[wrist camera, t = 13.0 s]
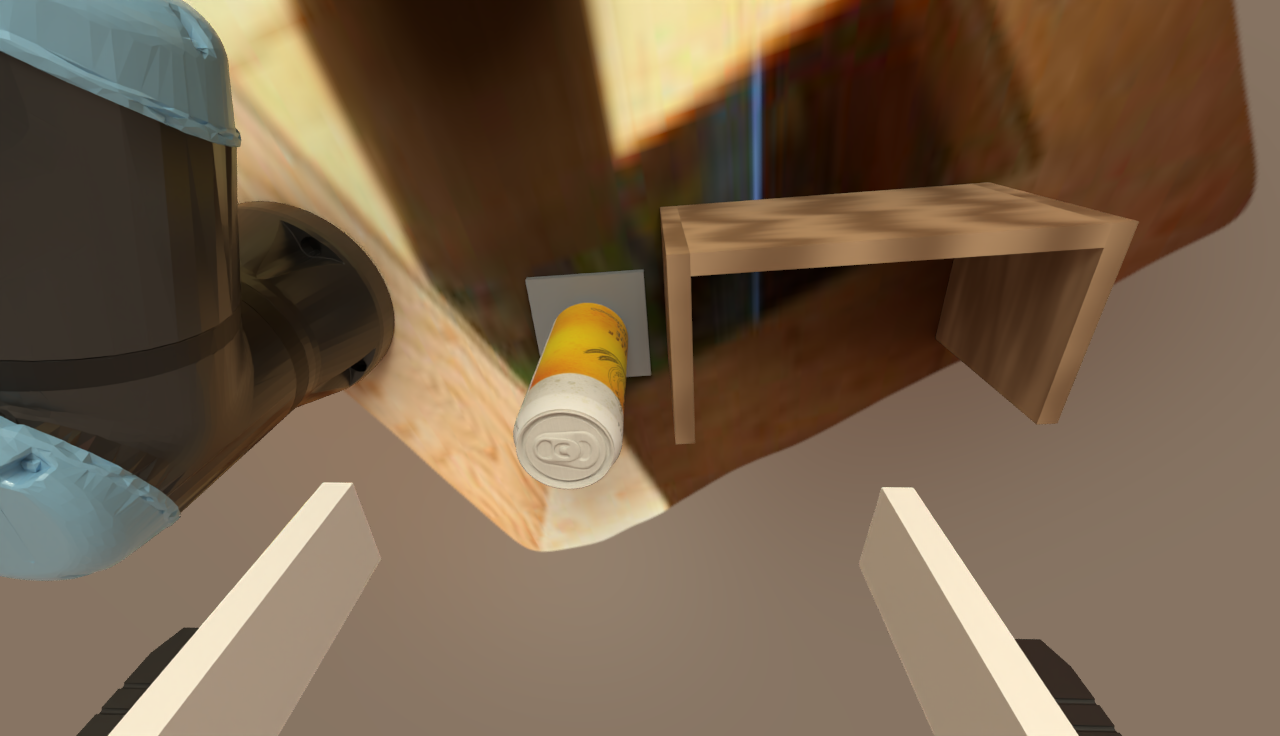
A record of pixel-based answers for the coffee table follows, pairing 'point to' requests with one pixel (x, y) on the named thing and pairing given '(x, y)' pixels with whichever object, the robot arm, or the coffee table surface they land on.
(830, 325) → the coffee table surface
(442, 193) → the coffee table surface
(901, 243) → the wooden monitor riser
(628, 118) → the coffee table surface
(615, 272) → the slate coaster
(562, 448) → the beer can
